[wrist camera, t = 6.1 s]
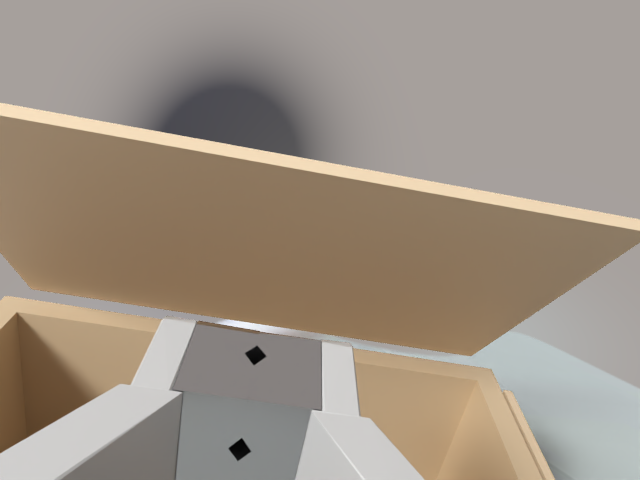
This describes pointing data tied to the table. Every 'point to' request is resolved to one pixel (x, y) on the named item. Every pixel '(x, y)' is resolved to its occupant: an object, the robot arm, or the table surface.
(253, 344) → the robot arm
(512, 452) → the carton
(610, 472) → the table surface
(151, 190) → the flap
